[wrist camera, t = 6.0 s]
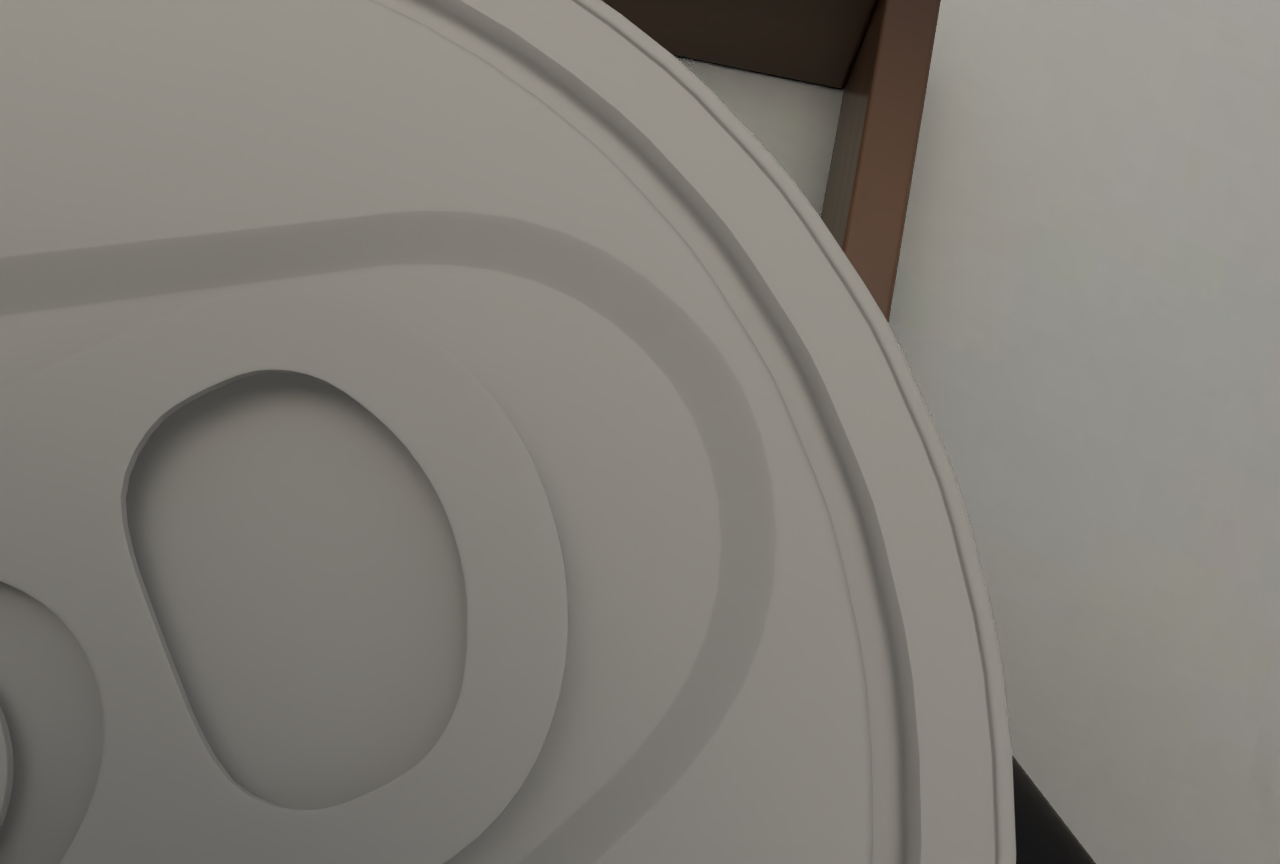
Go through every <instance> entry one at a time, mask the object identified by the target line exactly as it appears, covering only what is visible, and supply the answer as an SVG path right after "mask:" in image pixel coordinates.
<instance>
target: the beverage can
mask: <svg viewBox="0 0 1280 864" xmlns="http://www.w3.org/2000/svg"><path fill="white" fill-rule="evenodd" d="M0 864H1016V837H1015V812H1014V788H1013V763H1012V749H1011V739H1010V730H1009V720H1008V711H1007V701H1006V692H1005V682H1004V673H1003V666H1002V661H1001V655H1000V650H999V645H998V639H997V634H996V628H995V623H994V617H993V612H992V608H991V604H990V600H989V596H988V592H987V588H986V584H985V580H984V577H983V573H982V569H981V565H980V561H979V557H978V553H977V549H976V545H975V541H974V537H973V533H972V529H971V525H970V522H969V518H968V515H967V512H966V508H965V505H964V502H963V498H962V495H961V492H960V489H959V485H958V482H957V479H956V476H955V473H954V471H953V468H952V466H951V463H950V461H949V458H948V456H947V453H946V451H945V448H944V446H943V443H942V441H941V438H940V436H939V433H938V431H937V429H936V426H935V424H934V422H933V420H932V417H931V415H930V413H929V411H928V408H927V406H926V404H925V402H924V399H923V397H922V395H921V393H920V390H919V388H918V386H917V384H916V381H915V379H914V377H913V374H912V372H911V370H910V368H909V365H908V363H907V361H906V359H905V356H904V354H903V352H902V350H901V348H900V346H899V344H898V342H897V340H896V338H895V336H894V334H893V332H892V330H891V328H890V326H889V324H888V322H887V320H886V318H885V316H884V315H883V313H882V312H881V310H880V308H879V307H878V305H877V303H876V302H875V300H874V298H873V297H872V295H871V294H870V292H869V290H868V289H867V287H866V285H865V284H864V282H863V281H862V279H861V278H860V276H859V275H858V273H857V272H856V270H855V269H854V267H853V266H852V264H851V263H850V261H849V260H848V258H847V257H846V255H845V254H844V252H843V251H842V249H841V248H840V246H839V245H838V243H837V242H836V240H835V239H834V237H833V236H832V234H831V233H830V231H829V230H828V228H827V227H826V225H825V224H824V222H823V221H822V219H821V218H820V216H819V214H818V213H817V212H816V210H815V209H814V208H813V206H812V205H811V204H810V202H809V201H808V199H807V198H806V197H805V195H804V194H803V193H802V191H801V190H800V189H799V187H798V186H797V184H796V183H795V182H794V180H793V179H792V178H791V177H790V176H789V175H788V173H787V172H786V171H785V170H784V169H783V168H782V167H781V165H780V164H779V163H778V162H777V161H776V160H775V159H774V157H773V156H772V155H771V154H770V153H769V152H768V151H767V149H766V148H765V147H764V146H763V145H762V144H761V143H760V142H759V141H758V139H757V138H756V137H755V136H754V135H753V134H752V133H751V132H750V131H749V130H748V129H747V128H746V127H745V126H744V125H743V124H742V123H741V121H740V120H739V119H738V118H737V117H736V116H735V115H734V114H733V113H732V112H731V111H730V110H729V109H728V108H727V107H726V106H725V105H724V103H723V102H722V101H721V100H720V99H719V98H718V97H717V96H716V95H715V94H714V93H713V92H712V91H711V90H710V89H709V88H708V87H707V86H706V85H705V84H704V83H703V82H702V81H701V80H700V79H699V78H698V77H697V76H695V75H694V74H693V73H692V72H691V71H690V70H689V69H688V68H687V67H686V66H685V65H683V64H682V63H681V62H680V61H679V60H678V59H677V58H676V57H675V56H674V55H672V54H671V53H670V52H668V51H667V50H666V49H665V48H663V47H662V46H661V45H660V44H658V43H657V42H656V41H654V40H653V39H652V38H651V37H649V36H648V35H647V34H646V33H644V32H643V31H642V30H641V29H639V28H638V27H637V26H635V25H634V24H633V23H632V22H630V21H629V20H628V19H627V18H625V17H624V16H623V15H621V14H620V13H619V12H617V11H616V10H614V9H613V8H612V7H610V6H609V5H607V4H606V3H604V2H603V1H601V0H0Z"/></svg>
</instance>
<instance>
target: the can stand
mask: <svg viewBox="0 0 1280 864" xmlns="http://www.w3.org/2000/svg"><path fill="white" fill-rule="evenodd" d="M601 1H603V2H604V3H606V4H607V5H609V6H610V7H612V8H613V9H614V10H616V11H617V12H619V13H620V14H621V15H623V16H624V17H625V18H627V19H628V20H629V21H630V22H632V23H633V24H634V25H635V26H637V27H638V28H639V29H641V30H642V31H643V32H644V33H646V34H647V35H648V36H649V37H651V38H652V39H653V40H654V41H656V42H657V43H658V44H660V45H661V46H662V47H663V48H665V49H666V50H667V51H668V52H670V53H671V54H673V55H678V56H683V57H688V58H693V59H698V60H703V61H708V62H713V63H718V64H722V65H727V66H732V67H737V68H742V69H747V70H752V71H757V72H762V73H767V74H772V75H777V76H781V77H786V78H791V79H796V80H801V81H806V82H811V83H816V84H821V85H826V86H831V87H836V88H843V87H844V85H845V88H844V94H843V100H842V105H841V111H840V116H839V122H838V127H837V133H836V138H835V144H834V149H833V155H832V161H831V166H830V172H829V177H828V183H827V188H826V194H825V199H824V205H823V210H822V216H821V219H822V221H823V222H824V224H825V225H826V227H827V228H828V230H829V231H830V233H831V234H832V236H833V237H834V239H835V240H836V242H837V243H838V245H839V246H840V248H841V249H842V251H843V252H844V254H845V255H846V257H847V258H848V260H849V261H850V263H851V264H852V266H853V267H854V269H855V270H856V272H857V273H858V275H859V276H860V278H861V279H862V281H863V282H864V284H865V285H866V287H867V289H868V290H869V292H870V294H871V295H872V297H873V298H874V300H875V302H876V303H877V305H878V307H879V308H880V310H881V312H882V313H883V315H884V316H885V318H886V320H887V322H889V316H890V310H891V303H892V297H893V291H894V285H895V279H896V273H897V266H898V260H899V254H900V248H901V242H902V236H903V229H904V223H905V217H906V211H907V205H908V199H909V192H910V186H911V180H912V174H913V168H914V162H915V155H916V149H917V143H918V137H919V131H920V125H921V118H922V112H923V106H924V100H925V94H926V87H927V81H928V75H929V69H930V63H931V57H932V50H933V44H934V38H935V32H936V26H937V20H938V13H939V7H940V1H941V0H601Z"/></svg>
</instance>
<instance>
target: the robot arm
mask: <svg viewBox="0 0 1280 864" xmlns="http://www.w3.org/2000/svg"><path fill="white" fill-rule="evenodd" d="M1012 763H1013V788H1014V812H1015V837H1016V864H1096V863H1095V862H1094V861H1093V859H1092V858H1091V857H1090V856H1089V854H1088V853H1087V852H1086V850H1085V849H1084V848H1083V846H1082V845H1081V844H1080V843H1079V841H1078V840H1077V839H1076V837H1075V836H1074V835H1073V833H1072V832H1071V831H1070V830H1069V828H1068V827H1067V826H1066V824H1065V823H1064V822H1063V820H1062V819H1061V818H1060V817H1059V815H1058V814H1057V813H1056V811H1055V810H1054V809H1053V808H1052V806H1051V805H1050V804H1049V802H1048V801H1047V800H1046V798H1045V797H1044V796H1043V795H1042V793H1041V792H1040V791H1039V789H1038V788H1037V787H1036V785H1035V784H1034V783H1033V782H1032V780H1031V779H1030V778H1029V776H1028V775H1027V774H1026V772H1025V771H1024V770H1023V769H1022V767H1021V766H1020V765H1019V763H1018V762H1017V761H1016V759H1015V758H1014V757H1013V756H1012Z"/></svg>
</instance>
